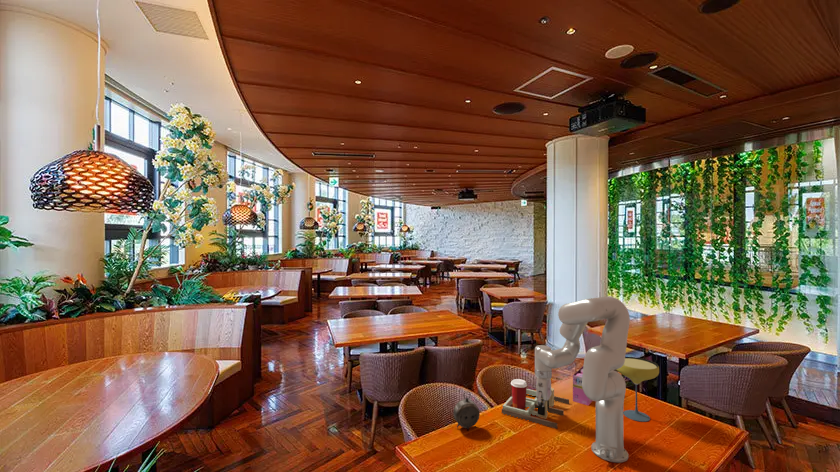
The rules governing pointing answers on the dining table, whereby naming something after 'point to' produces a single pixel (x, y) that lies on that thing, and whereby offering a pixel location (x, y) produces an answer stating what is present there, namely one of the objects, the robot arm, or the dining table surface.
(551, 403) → the square frame with handle
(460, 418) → the alarm clock
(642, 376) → the cocktail glass
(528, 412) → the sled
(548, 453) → the dining table surface
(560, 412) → the lane rails
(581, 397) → the gum box
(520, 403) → the paper cup
